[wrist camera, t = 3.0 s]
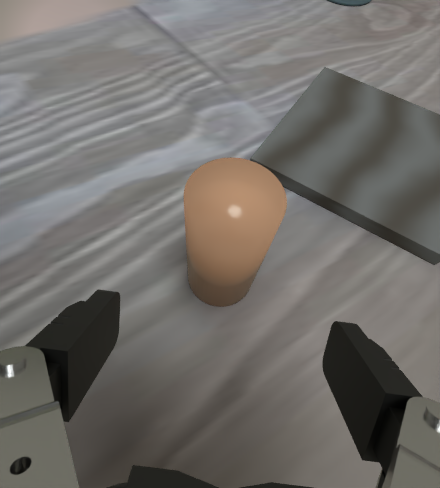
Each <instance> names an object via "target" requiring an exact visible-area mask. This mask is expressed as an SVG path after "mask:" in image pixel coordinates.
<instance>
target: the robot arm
mask: <svg viewBox="0 0 440 488" xmlns="http://www.w3.org/2000/svg"><path fill="white" fill-rule="evenodd" d="M119 316H120V294H119V292H113V291H105V290H97V291H96V292H95V293H94V294H93V295H92V296H91V297H90V298H89V299H88V300H87V301H86V302H85V301H79V302H77V303H75V304H73V305H70V306H68V307H67V308H66V309H65V310H63V311H62V312H61V313H60V314H59V315H58V317H56V318H55V319H54V320H53V321H52V322H51V324H48V325H47V326H46V327H45V328H44V329H43V330H42V331H41V332H40V333H39V334H37V335H36V336H35V337H34V338H33V339H32V340H31V341H30V342H29V343H28V344H27V345H26V346H21V347H13V348H9V349H5V350H2V351H0V488H79V485H78V481H77V476H76V472H75V468H74V464H73V459H72V455H71V451H70V447H69V443H68V438H67V434H66V430H65V426H64V422H63V421H65V422H69V421H70V419H71V418H72V416H73V414H74V413H75V411H76V409H77V408H78V406H79V404H80V403H81V401H82V399H83V398H84V396H85V394H86V393H87V391H88V390H89V388H90V386H91V385H92V383H93V381H94V380H95V378H96V376H97V375H98V373H99V371H100V370H101V368H102V366H103V365H104V363H105V361H106V360H107V358H108V356H109V355H110V353H111V351H112V350H113V348H114V346H115V344H116V341H117V338H118V333H119ZM323 372H324V375H325V377H326V380H327V382H328V384H329V386H330V389H331V391H332V393H333V395H334V398H335V400H336V402H337V404H338V407H339V409H340V411H341V413H342V416H343V418H344V420H345V422H346V425H347V427H348V429H349V431H350V434H351V436H352V438H353V440H354V443H355V445H356V447H357V449H358V452H359V454H360V456H361V458H362V460H365V461H373V462H380V464H381V466H382V470H381V473H380V475H379V478H378V482H377V485H376V488H440V403H439V402H436V401H434V400H431V399H428V398H424V397H422V395H421V394H420V393H419V392H418V391H417V389H416V388H415V387H414V386H413V384H412V383H411V382H410V381H409V380H408V378H407V377H406V376H405V375H404V373H403V372H402V371H401V370H399V367H398V366H397V365H396V364H395V362H394V361H392V359H391V357H390V356H389V355H388V354H387V353H386V351H385V350H384V349H383V348H382V347H380V346H379V345H378V344H376V343H375V342H374V341H372V340H371V339H368V338H367V336H366V335H365V334H364V333H363V331H362V330H361V329H360V327H359V326H358V325H357V324H353V323H346V322H338V321H335V322H334V323H333V324H332V326H331V330H330V333H329V337H328V341H327V345H326V348H325V352H324V356H323ZM107 488H218V487H216V486H213V485H211V484H209V483H206V482H204V481H201V480H199V479H196V478H194V477H192V476H189V475H187V474H184V473H182V472H180V471H175V470H167V469H159V468H151V467H143V466H135V465H133V466H132V469H131V473H130V476H129V479H128V482H127V483H122V484H117V485H114V486H110V487H107ZM241 488H312V487H304V486H296V485H288V484H280V483H272V482H271V483H265V484H259V485H253V486H247V487H241Z"/></svg>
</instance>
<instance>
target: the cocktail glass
mask: <svg viewBox="0 0 440 488" xmlns="http://www.w3.org/2000/svg"><path fill="white" fill-rule="evenodd" d="M328 1H330V2H333V3H336V4H340V5H346V6H361V5H365V4H367V3H369V2H370V1H371V0H328Z"/></svg>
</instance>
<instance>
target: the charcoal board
mask: <svg viewBox="0 0 440 488" xmlns="http://www.w3.org/2000/svg"><path fill="white" fill-rule="evenodd" d="M250 161H253V162H255V163H258V164H260V165H262V166H263V167H265V168H267V169H268V170H269V171H271V172H272V173H273V174H274V175H275V176H276V177H277V179H278V180H279V181H280V183H281V184H282V186H283V187H285V188H287V189H289V190H291V191H293V192H295V193H297V194H299V195H301V196H303V197H305V198H307V199H308V200H310V201H312V202H314V203H316V204H318V205H320V206H322V207H324V208H326V209H328V210H330V211H332V212H334V213H335V214H337V215H339V216H341V217H343V218H345V219H347V220H349V221H351V222H353V223H355V224H357V225H359V226H361V227H362V228H364V229H366V230H368V231H370V232H372V233H374V234H376V235H378V236H380V237H382V238H384V239H386V240H388V241H389V242H391V243H393V244H395V245H397V246H399V247H401V248H403V249H405V250H407V251H409V252H411V253H413V254H415V255H416V256H418V257H420V258H422V259H424V260H426V261H428V262H430V263H432V264H434V265H435V264H437V263H439V262H440V115H439V114H437V113H435V112H432V111H430V110H427V109H425V108H423V107H420V106H418V105H415V104H413V103H410V102H408V101H406V100H403V99H401V98H398V97H396V96H394V95H391V94H389V93H386V92H384V91H382V90H379V89H377V88H374V87H372V86H370V85H367V84H365V83H362V82H360V81H357V80H355V79H353V78H350V77H348V76H345V75H343V74H341V73H338V72H336V71H333V70H331V69H329V68H326V67H324V69H323V70H322V71H321V72H320V74H319V75H318V76H317V77H316V78H315V80H314V81H313V82H312V83H311V85H310V86H309V87H308V88H307V90H306V91H305V92H304V93H303V94H302V96H301V97H300V98H299V99H298V101H297V102H296V103H295V104H294V106H293V107H292V108H291V109H290V110H289V112H288V113H287V114H286V115H285V117H284V118H283V119H282V120H281V121H280V123H279V124H278V125H277V126H276V128H275V129H274V130H273V131H272V133H271V134H270V135H269V136H268V137H267V139H266V140H265V141H264V142H263V144H262V145H261V146H260V147H259V149H258V150H257V151H256V152H255V153H254V155H253V156H252V157H251V159H250Z"/></svg>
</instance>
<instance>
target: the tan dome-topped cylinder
mask: <svg viewBox="0 0 440 488" xmlns="http://www.w3.org/2000/svg"><path fill="white" fill-rule="evenodd" d="M286 207H287V199H286V194H285V191H284V188H283V186H282V184H281V183H280V181H279V180H278V179H277V177H276V176H275V175H274V174H273V173H272V172H271V171H269V170H268V169H267V168H265V167H263V166H262V165H260V164H258V163H255V162H253V161H250V160H246V159H241V158H221V159H216V160H213V161H210V162H208V163H206V164H204V165H202V166H200V167H199V168H198V169H196V170H195V171H194V172H193V173H192V175H191V176H190V177H189V179H188V181H187V183H186V186H185V189H184V212H185V231H186V250H187V269H188V281H189V285H190V288H191V290H192V291H193V293H194V294H195V295H196V296H197V297H198V298H199V299H200V300H201V301H203V302H205V303H207V304H209V305H212V306H218V307H224V306H229V305H233V304H235V303H237V302H239V301H240V300H241V299H243V298H244V297H245V295H246V294H247V293H248V291H249V289H250V287H251V285H252V283H253V281H254V278H255V276H256V274H257V272H258V270H259V268H260V266H261V264H262V262H263V259H264V257H265V255H266V253H267V251H268V249H269V247H270V245H271V243H272V240H273V238H274V236H275V234H276V232H277V230H278V228H279V226H280V224H281V221H282V219H283V217H284V215H285V212H286Z"/></svg>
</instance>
